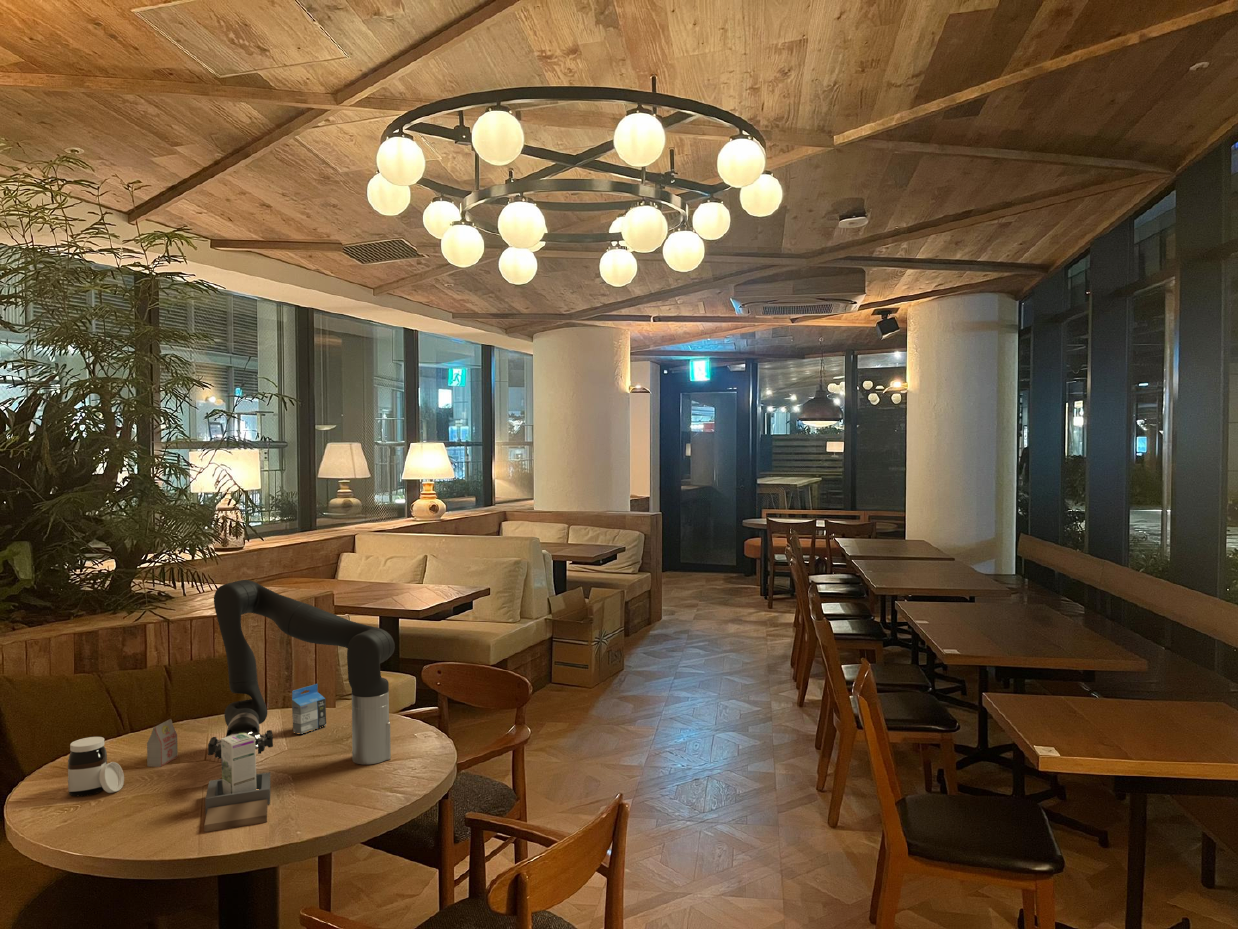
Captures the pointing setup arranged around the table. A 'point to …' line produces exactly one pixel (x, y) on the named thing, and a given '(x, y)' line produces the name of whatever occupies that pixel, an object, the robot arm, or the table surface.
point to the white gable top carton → (162, 745)
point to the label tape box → (308, 709)
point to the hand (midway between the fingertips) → (239, 752)
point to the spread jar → (92, 768)
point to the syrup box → (238, 763)
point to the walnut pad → (236, 815)
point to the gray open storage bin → (217, 799)
